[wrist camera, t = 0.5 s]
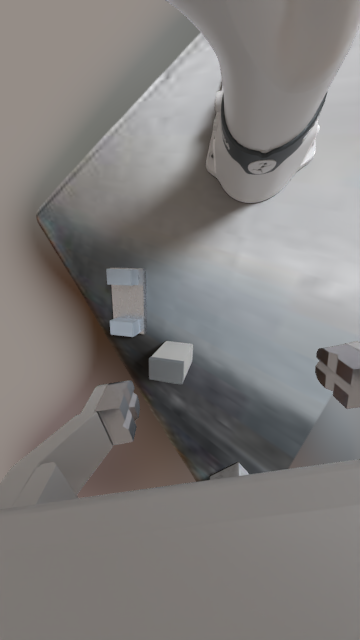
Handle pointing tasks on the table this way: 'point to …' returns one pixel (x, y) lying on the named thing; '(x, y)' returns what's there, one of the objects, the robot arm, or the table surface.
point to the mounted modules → (118, 324)
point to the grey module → (171, 362)
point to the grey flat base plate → (131, 300)
